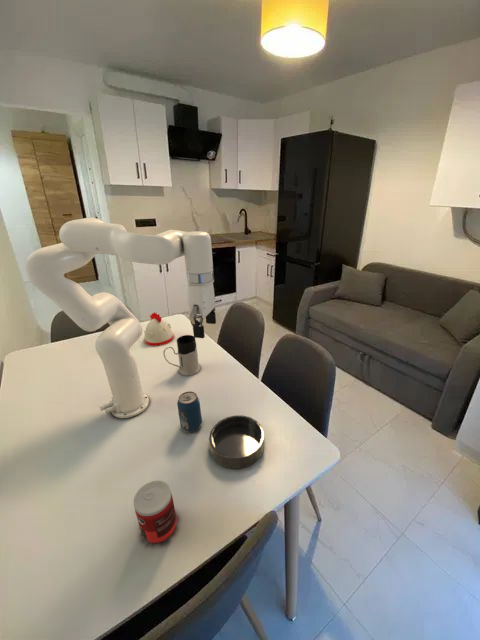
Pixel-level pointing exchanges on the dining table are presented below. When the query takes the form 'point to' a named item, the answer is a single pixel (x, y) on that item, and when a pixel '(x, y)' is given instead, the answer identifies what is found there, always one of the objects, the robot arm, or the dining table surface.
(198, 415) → the soda can
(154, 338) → the kitchen timer
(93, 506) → the dining table surface
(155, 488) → the canned food
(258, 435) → the bowl
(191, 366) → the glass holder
